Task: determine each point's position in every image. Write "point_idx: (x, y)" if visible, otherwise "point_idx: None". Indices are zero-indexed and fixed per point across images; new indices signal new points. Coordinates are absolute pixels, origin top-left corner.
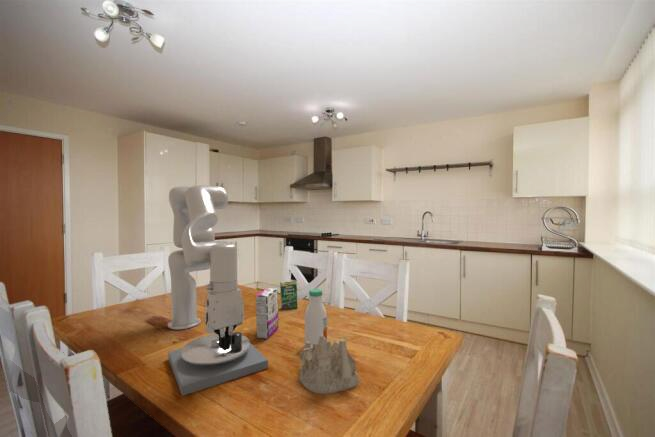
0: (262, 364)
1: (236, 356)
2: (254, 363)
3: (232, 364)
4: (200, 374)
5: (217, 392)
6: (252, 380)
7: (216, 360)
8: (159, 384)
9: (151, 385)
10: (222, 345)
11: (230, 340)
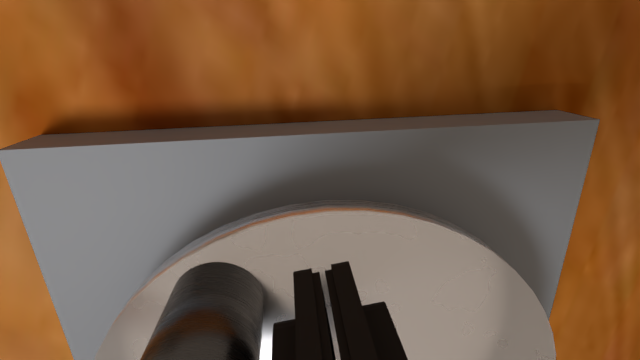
0: (60, 141)
1: (236, 227)
2: (115, 154)
3: None
4: (470, 198)
5: (402, 32)
6: (175, 41)
7: (404, 218)
8: (588, 265)
9: (614, 273)
10: (373, 312)
11: (277, 354)
